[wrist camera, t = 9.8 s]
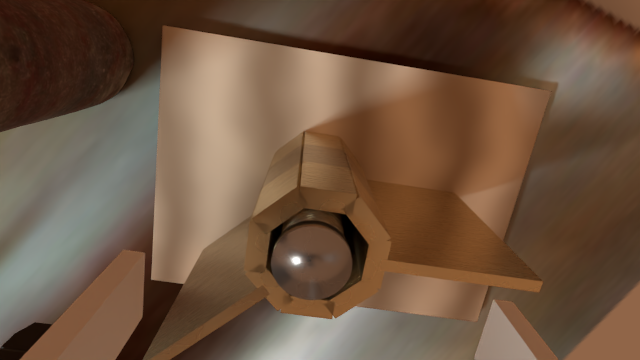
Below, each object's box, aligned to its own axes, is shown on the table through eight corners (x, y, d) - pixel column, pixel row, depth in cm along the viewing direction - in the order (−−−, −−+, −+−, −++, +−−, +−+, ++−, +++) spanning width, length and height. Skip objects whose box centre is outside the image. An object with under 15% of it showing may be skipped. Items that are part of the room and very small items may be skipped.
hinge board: (156, 272, 35) (151, 279, 34) (168, 26, 29) (162, 25, 28) (471, 313, 37) (476, 321, 36) (542, 89, 31) (551, 91, 30)
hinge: (202, 253, 34) (138, 373, 21) (214, 116, 30) (146, 163, 18) (429, 284, 35) (494, 414, 22) (464, 155, 31) (563, 224, 19)
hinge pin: (287, 192, 32) (266, 294, 19) (294, 147, 31) (276, 222, 18) (333, 199, 32) (344, 305, 19) (341, 155, 31) (359, 234, 18)
